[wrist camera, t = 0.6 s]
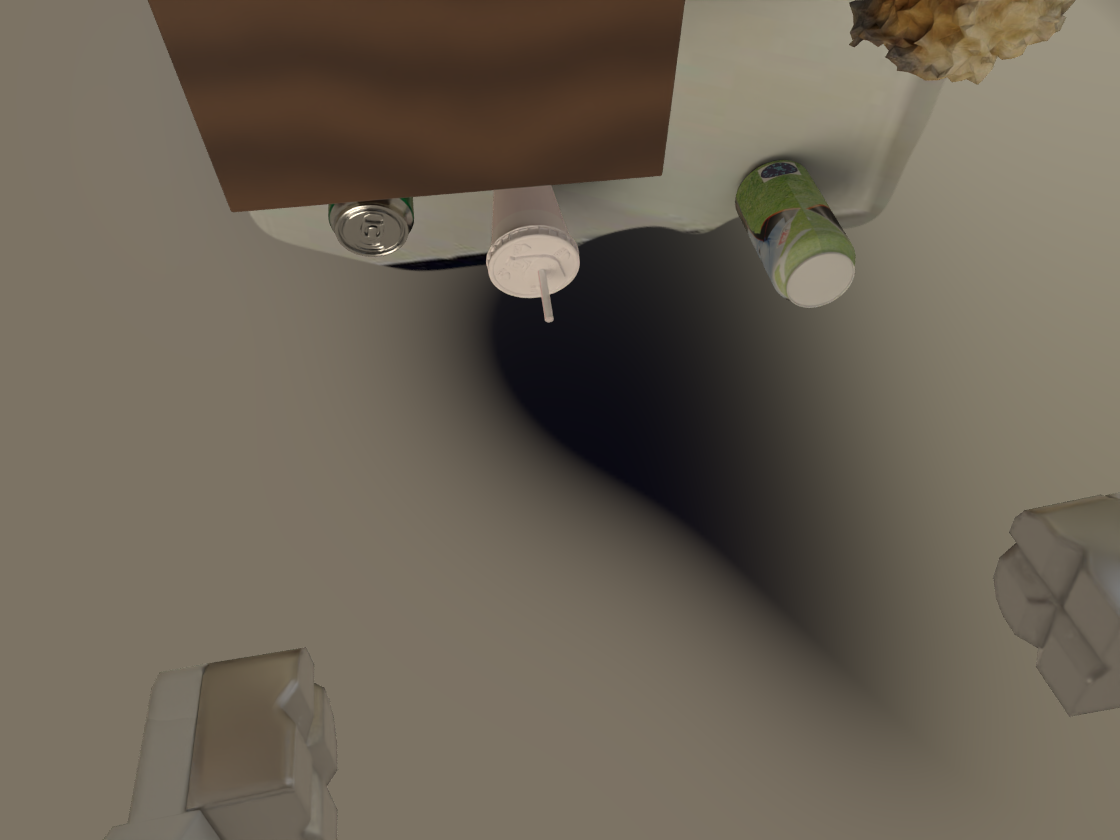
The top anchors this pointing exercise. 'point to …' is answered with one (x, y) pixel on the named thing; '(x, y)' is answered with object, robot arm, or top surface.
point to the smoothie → (530, 245)
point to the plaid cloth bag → (955, 32)
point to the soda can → (372, 225)
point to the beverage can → (795, 234)
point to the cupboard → (422, 93)
